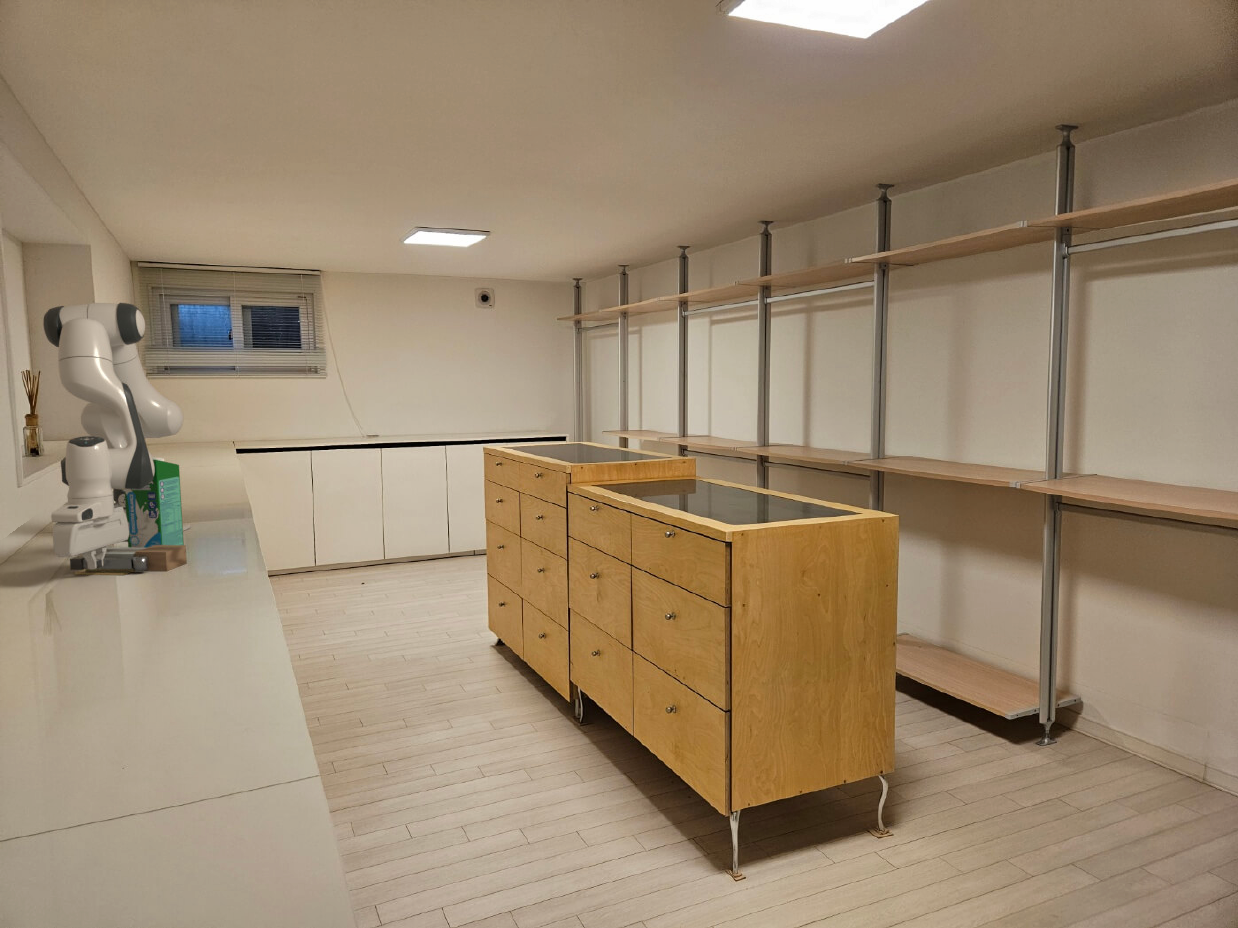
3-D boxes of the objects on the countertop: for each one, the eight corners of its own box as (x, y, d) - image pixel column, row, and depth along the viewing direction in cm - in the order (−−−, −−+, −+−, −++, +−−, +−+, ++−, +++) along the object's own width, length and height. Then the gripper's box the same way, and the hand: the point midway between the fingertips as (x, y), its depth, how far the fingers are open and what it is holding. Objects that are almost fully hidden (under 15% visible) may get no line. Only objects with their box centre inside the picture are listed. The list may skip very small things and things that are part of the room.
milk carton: (184, 550, 216) (178, 455, 214) (162, 558, 207) (156, 459, 205) (152, 549, 217) (146, 455, 215) (128, 557, 208) (122, 458, 206)
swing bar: (150, 567, 193) (150, 555, 193) (143, 570, 190) (142, 558, 190) (79, 567, 194) (78, 555, 193) (70, 570, 191) (69, 558, 190)
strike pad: (86, 570, 195) (86, 568, 195) (135, 570, 194) (135, 569, 194) (74, 574, 191) (74, 572, 191) (124, 575, 190) (124, 573, 190)
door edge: (108, 562, 203) (107, 544, 202) (186, 563, 202) (185, 545, 201) (85, 569, 195) (84, 551, 194) (166, 571, 194) (165, 552, 193)
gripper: (109, 501, 198) (113, 557, 200) (45, 515, 178) (49, 578, 180) (134, 501, 198) (138, 558, 200) (72, 515, 178) (77, 578, 179)
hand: (95, 567), depth 189 cm, fingers closed
